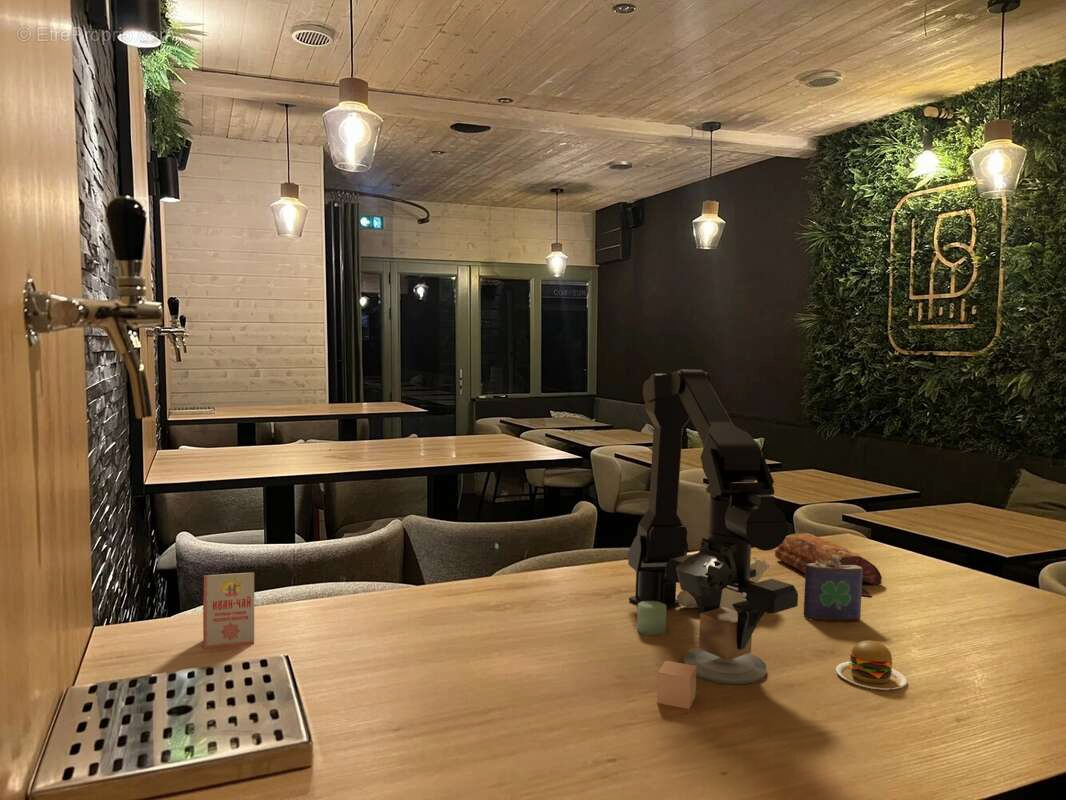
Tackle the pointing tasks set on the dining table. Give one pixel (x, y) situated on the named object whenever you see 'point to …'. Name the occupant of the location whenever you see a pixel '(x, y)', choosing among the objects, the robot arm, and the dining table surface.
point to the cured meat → (823, 556)
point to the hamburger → (871, 665)
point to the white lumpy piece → (727, 594)
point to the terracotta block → (676, 684)
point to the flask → (833, 591)
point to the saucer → (726, 667)
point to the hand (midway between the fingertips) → (725, 642)
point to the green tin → (651, 618)
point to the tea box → (228, 610)
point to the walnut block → (721, 633)
